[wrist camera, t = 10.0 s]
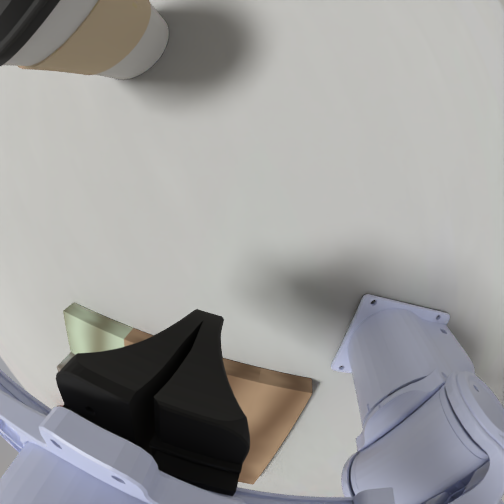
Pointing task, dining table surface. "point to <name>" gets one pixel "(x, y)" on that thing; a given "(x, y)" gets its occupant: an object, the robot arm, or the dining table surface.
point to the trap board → (239, 376)
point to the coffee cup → (82, 36)
